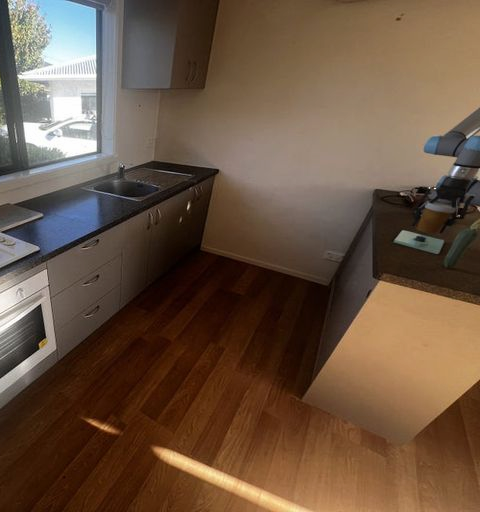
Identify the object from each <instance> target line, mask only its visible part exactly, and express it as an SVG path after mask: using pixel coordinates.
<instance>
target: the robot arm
mask: <svg viewBox="0 0 480 512" xmlns="http://www.w3.org/2000/svg"><path fill="white" fill-rule="evenodd" d="M478 133H480V107H478V108H477V109H476V110H474V111H473V112H472V113H470V114H469V115H468V116H467V117H466V118H464V119H463V120H462V121H460V122H459V123H457V124H456V125H454V127H452V129H450V130H448V131H447V132H446V133H445V134H443V135H432V136H430V137H429V138H428V139H427V140H426V142H425V144H424V145H423V153H425V154H431V155H434V156H442V157H451V158H456V159H455V161H454V162H453V164H452V166H451V167H450V169H449V170H448V172H447V174H445V175H443V176H441V178H440V179H439V180H438V182H436V185H435V186H434V187H431V186H429V187H427V188H426V189H425V193H424V194H423V195H422V196H421V197H420V199H418V201H416V203H415V204H414V205H413V206H412V208H411V209H412V210H414V213H413V214H414V215H413V216H412V218H413V219H415V220H414V221H413V223H412V225H411V227H413V228H414V227H415V226H416V225H417V224H418V222H419V220H420V218H421V215H422V213H423V210H424V209H425V205H426V204H427V202H429V203H431V204H432V203H434V202H443V203H447V204H451V205H452V208H456V210H455V211H456V212H454V213H452V215H451V216H450V217H449V218H448V220H447V221H446V222H445V223H444V224H443V225H442V227H441V228H440V230H439V234H443V232H444V231H445V229H446V228H447V227H452V226H453V224H454V223H455V221H456V220H464V219H465V217H466V214H467V212H468V209H469V206H474V207H479V208H480V179H479V176H478V174H479V172H480V135H477V134H478ZM428 196H429V197H428ZM426 198H427V200H426V201H425V202H424V200H425V199H426ZM423 202H424V203H423ZM422 203H423V204H422ZM421 204H422V205H421ZM461 204H463V207H462V210H461V212H460V215H458V211H459V207H460V205H461ZM419 206H420V207H419Z"/></svg>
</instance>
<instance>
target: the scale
mask: <svg viewBox="0 0 480 512" xmlns="http://www.w3.org/2000/svg"><path fill="white" fill-rule="evenodd" d="M417 236H422V237H425V238H426V240H425V242H419V241H416V240H415V238H416V237H417ZM393 243H395V244H399V245H402V246H405V247H409V248H414V249H417V250H421V251H424V252H427V253H432V254H435V255H439V254H440V252H441V249H442V247H443V246H444V244H445V240H444V239H440V238H436V237H432V236H428V235H424V234H421V233H417V232H412V231H408V230H404V229H403V230H401V231H400V232H399V233H398V235H397V236H396V238H395V239H394V240H393Z"/></svg>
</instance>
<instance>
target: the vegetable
mask: <svg viewBox="0 0 480 512" xmlns="http://www.w3.org/2000/svg"><path fill="white" fill-rule="evenodd" d="M478 229H480V217H479V218H478V219H477V220H475V222H474V223H473V224H471V226H470V227H467V228H464V229H462V230H461V231H460V232H459V233H457V236H456V237H455V239H454V240H453V242H452V245H451V247H450V248H449V250H448V251H447V254H446V255H445V258H444V261H443V265H444V267H445V268H448V269H452V268H453V267H455V266H456V265H458V264H459V262H460V261H461V259H462V257H463V255H464V253H465V252H466V250H467V249H468V248H469V247H470V246H471V245H472V244H473V243H474V242H475V241H476V240H477V238H478V237H479V230H478Z"/></svg>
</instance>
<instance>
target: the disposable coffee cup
mask: <svg viewBox="0 0 480 512" xmlns="http://www.w3.org/2000/svg"><path fill="white" fill-rule="evenodd" d="M455 210H456V208H452V205H451V204H447V203H443V202H434V203H432V204H431V203H429V202H427V204H426V205H425V209H424V210H423V213H422V215H421V218H419V219H418V221H417V224H416V227H415V229H416V230H417V231H420V232H423V233H427V234H436V233H437V232H438V231H440V230H441V229H442V227H443V226H444V225H445V222H446V221H447V220H448V218H449V217H450V216H451V215H452V213H454V212H456V211H455Z"/></svg>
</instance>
